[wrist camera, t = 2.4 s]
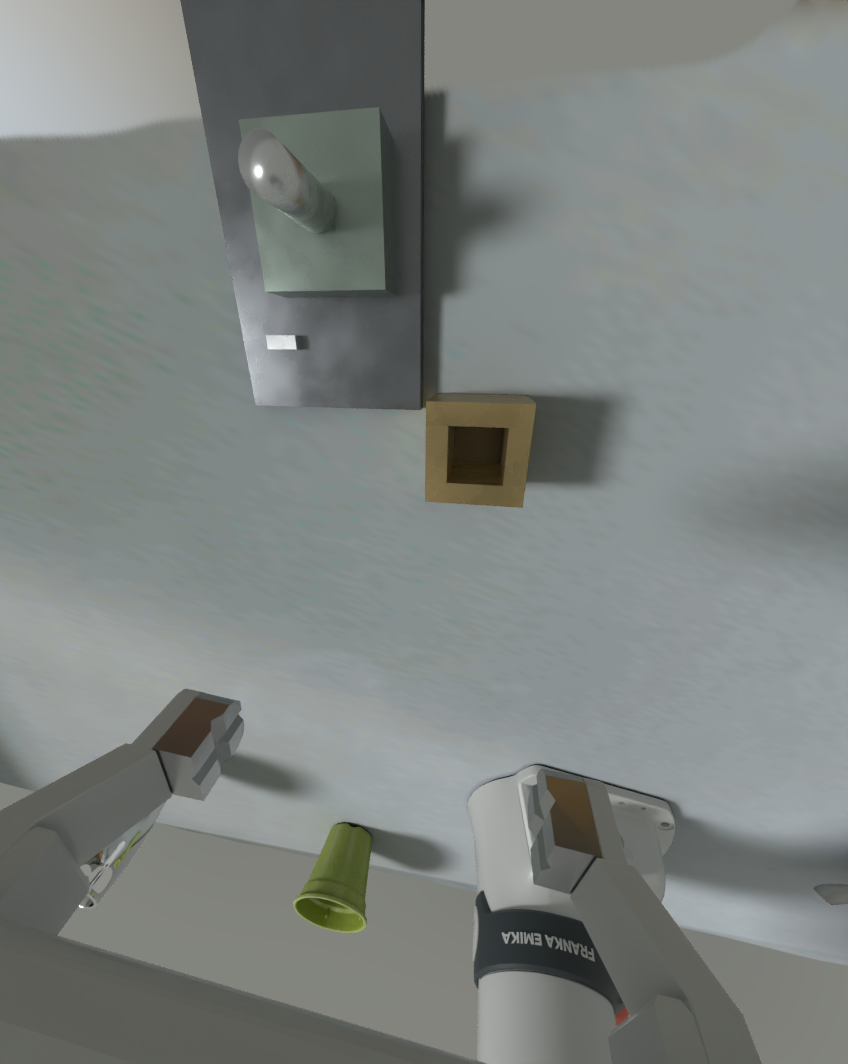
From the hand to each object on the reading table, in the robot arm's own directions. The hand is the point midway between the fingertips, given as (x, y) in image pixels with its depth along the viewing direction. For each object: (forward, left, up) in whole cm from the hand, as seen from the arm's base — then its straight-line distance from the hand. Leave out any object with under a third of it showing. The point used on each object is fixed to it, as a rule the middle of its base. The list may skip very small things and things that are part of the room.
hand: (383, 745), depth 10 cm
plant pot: (+12, +53, -21) cm, 58 cm away
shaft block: (+7, -16, -20) cm, 27 cm away
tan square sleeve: (-2, -4, -20) cm, 21 cm away
